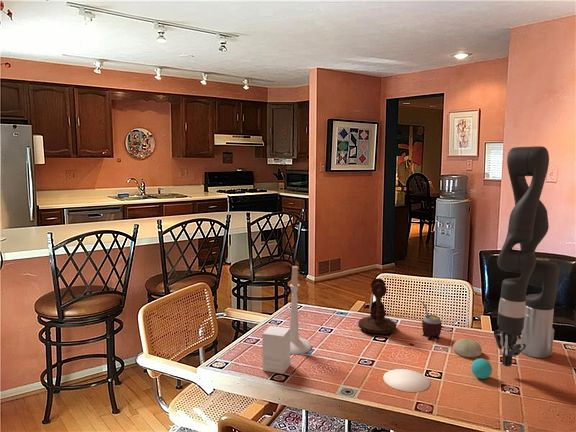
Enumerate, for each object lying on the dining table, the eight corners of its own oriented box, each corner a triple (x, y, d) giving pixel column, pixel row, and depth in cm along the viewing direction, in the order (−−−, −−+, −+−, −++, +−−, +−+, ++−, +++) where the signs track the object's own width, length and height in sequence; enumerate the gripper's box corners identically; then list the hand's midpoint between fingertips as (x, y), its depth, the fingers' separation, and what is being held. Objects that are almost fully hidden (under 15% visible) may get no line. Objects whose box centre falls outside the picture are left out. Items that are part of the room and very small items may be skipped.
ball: (483, 372, 149) (484, 354, 149) (495, 381, 144) (496, 363, 143) (466, 373, 148) (468, 356, 147) (478, 383, 142) (479, 364, 142)
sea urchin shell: (487, 355, 158) (470, 338, 158) (468, 369, 160) (452, 352, 160) (481, 344, 167) (465, 328, 167) (464, 357, 169) (448, 341, 169)
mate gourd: (442, 336, 178) (445, 298, 176) (437, 343, 172) (439, 304, 170) (423, 332, 182) (425, 295, 180) (417, 338, 176) (419, 300, 173)
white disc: (416, 368, 152) (416, 367, 152) (438, 389, 138) (438, 389, 138) (376, 371, 149) (376, 371, 149) (395, 394, 135) (395, 393, 135)
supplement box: (290, 364, 153) (291, 328, 151) (283, 374, 146) (283, 336, 144) (270, 361, 155) (270, 324, 154) (261, 370, 149) (261, 333, 147)
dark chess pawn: (357, 321, 192) (359, 274, 190) (394, 324, 190) (396, 276, 188) (358, 335, 178) (360, 285, 175) (397, 338, 176) (400, 287, 173)
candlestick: (270, 350, 164) (270, 267, 159) (284, 337, 175) (285, 259, 171) (304, 356, 159) (305, 271, 155) (316, 342, 171) (318, 263, 166)
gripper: (537, 319, 139) (531, 374, 142) (508, 305, 152) (503, 355, 154) (514, 320, 138) (509, 375, 140) (487, 306, 151) (483, 357, 153)
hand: (506, 365), depth 147 cm, fingers closed
